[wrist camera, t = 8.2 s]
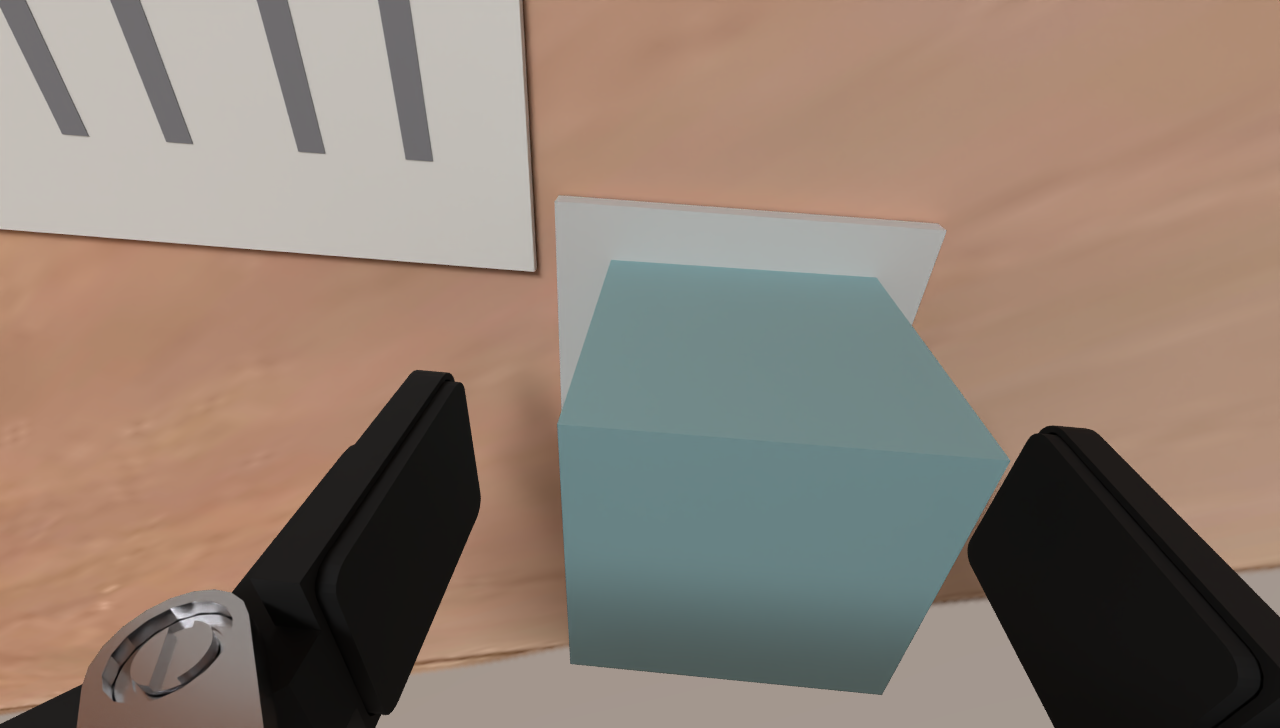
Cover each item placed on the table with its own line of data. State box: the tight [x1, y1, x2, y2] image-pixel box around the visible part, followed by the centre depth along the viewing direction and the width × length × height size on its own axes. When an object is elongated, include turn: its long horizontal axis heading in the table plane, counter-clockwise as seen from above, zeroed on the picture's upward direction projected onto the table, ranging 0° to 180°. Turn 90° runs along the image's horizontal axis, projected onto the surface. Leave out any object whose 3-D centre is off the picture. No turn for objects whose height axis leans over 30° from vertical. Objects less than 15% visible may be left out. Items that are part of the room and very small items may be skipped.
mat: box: [555, 195, 946, 410], centre depth 12 cm, size 7×7×1 cm
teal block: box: [557, 260, 1010, 695], centre depth 9 cm, size 5×5×5 cm
